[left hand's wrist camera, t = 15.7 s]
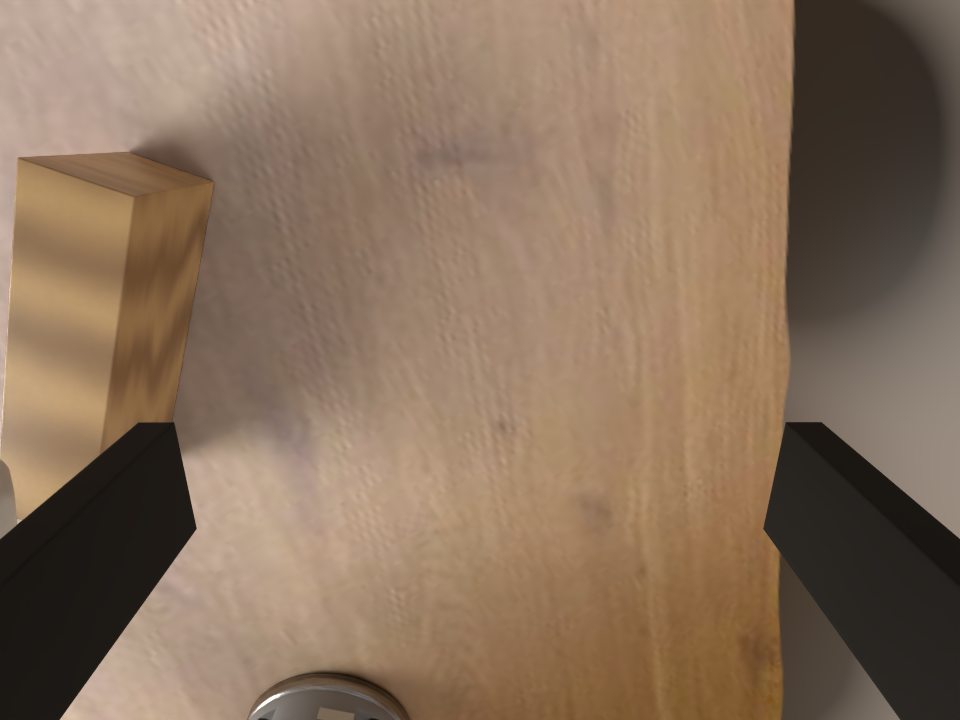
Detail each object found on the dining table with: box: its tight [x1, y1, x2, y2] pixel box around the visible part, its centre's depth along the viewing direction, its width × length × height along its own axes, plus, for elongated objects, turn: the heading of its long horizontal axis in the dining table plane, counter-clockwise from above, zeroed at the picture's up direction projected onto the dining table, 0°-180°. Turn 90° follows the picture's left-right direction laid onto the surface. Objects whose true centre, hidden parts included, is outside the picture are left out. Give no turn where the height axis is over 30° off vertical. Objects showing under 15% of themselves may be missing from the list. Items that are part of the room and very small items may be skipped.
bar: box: [0, 152, 214, 520], centre depth 36 cm, size 21×6×9 cm, turn 161°
